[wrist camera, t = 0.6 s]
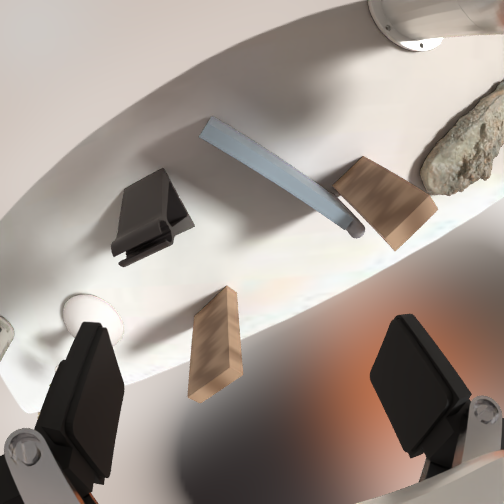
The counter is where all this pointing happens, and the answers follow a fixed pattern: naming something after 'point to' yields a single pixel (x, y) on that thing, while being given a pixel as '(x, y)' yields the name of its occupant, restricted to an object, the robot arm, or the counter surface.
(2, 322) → the spray can
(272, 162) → the blue rectangular panel
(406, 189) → the brown wooden blocks
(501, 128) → the long grey stone
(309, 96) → the counter surface
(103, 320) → the flower in vase
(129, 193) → the phone stand
